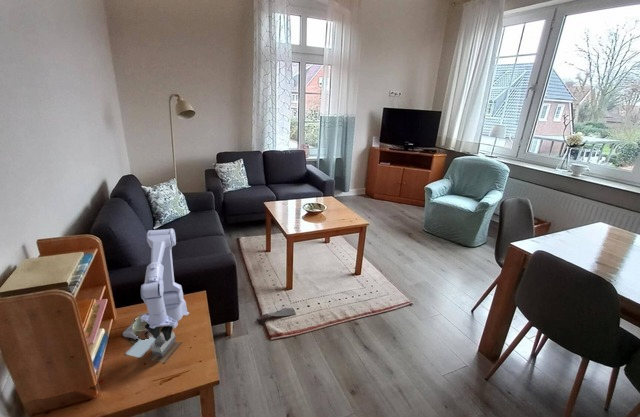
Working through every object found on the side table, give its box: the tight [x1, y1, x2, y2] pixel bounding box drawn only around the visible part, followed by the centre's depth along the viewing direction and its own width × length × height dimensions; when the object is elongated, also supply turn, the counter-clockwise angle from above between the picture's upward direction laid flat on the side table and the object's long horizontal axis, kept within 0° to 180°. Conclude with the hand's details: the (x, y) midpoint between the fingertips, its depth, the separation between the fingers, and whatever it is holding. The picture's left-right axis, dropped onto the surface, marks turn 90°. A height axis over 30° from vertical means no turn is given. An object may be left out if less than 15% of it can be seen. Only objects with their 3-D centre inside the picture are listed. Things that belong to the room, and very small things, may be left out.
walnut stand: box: [148, 341, 182, 364], centre depth 121 cm, size 7×10×2 cm
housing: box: [150, 330, 177, 356], centre depth 119 cm, size 8×4×5 cm, turn 168°
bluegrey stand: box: [124, 336, 155, 359], centre depth 123 cm, size 7×10×2 cm
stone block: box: [122, 321, 139, 341], centre depth 132 cm, size 12×5×10 cm
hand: (162, 338), depth 119 cm, fingers closed on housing, 4 cm apart
